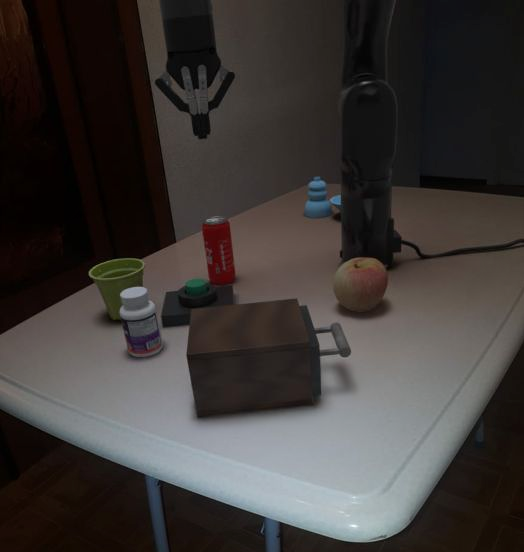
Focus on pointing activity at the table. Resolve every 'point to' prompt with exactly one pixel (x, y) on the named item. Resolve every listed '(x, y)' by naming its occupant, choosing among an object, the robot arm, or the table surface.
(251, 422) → the table surface
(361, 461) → the table surface
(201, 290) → the button
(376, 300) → the apple
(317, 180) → the blue tiered piece
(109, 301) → the plant pot
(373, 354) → the table surface
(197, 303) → the control block
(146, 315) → the pill bottle
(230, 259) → the beverage can
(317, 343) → the drawer
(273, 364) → the cabinet
